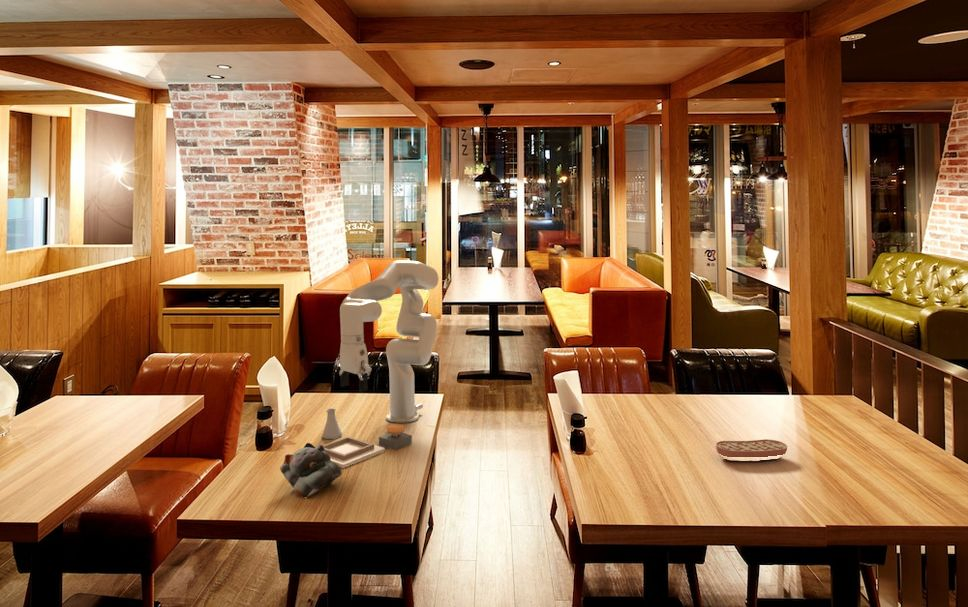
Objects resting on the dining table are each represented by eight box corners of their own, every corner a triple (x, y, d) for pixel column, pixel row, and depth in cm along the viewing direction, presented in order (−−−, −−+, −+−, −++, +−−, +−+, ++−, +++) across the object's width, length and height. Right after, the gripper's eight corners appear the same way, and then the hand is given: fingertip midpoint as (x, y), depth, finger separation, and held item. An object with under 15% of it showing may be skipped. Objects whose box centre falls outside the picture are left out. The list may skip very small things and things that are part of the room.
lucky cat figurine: (298, 503, 177) (277, 457, 178) (293, 502, 188) (273, 459, 189) (347, 476, 184) (327, 432, 185) (340, 478, 194) (320, 436, 196)
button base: (395, 438, 227) (395, 430, 227) (411, 443, 223) (411, 435, 222) (378, 445, 221) (378, 436, 221) (395, 450, 216) (395, 441, 216)
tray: (349, 440, 226) (348, 432, 226) (384, 451, 215) (384, 443, 215) (307, 455, 212) (306, 447, 211) (343, 468, 201) (343, 460, 201)
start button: (395, 434, 226) (395, 422, 225) (407, 438, 222) (407, 425, 222) (382, 439, 221) (382, 427, 220) (395, 443, 217) (395, 430, 217)
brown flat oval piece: (776, 453, 214) (777, 438, 213) (793, 464, 204) (794, 449, 203) (710, 455, 212) (711, 441, 211) (724, 467, 202) (725, 452, 201)
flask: (337, 440, 226) (336, 413, 224) (318, 439, 227) (317, 412, 226) (345, 433, 233) (344, 407, 231) (327, 432, 234) (326, 406, 233)
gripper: (378, 340, 213) (379, 390, 215) (345, 334, 223) (346, 382, 226) (360, 344, 207) (362, 395, 209) (327, 337, 218) (329, 386, 220)
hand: (354, 388), depth 218 cm, fingers open, 9 cm apart
